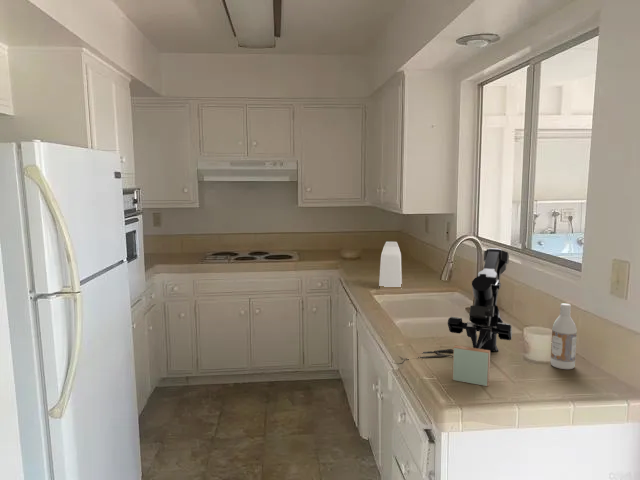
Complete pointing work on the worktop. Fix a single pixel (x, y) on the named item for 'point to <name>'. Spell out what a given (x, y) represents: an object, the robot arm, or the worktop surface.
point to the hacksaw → (435, 355)
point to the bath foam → (564, 339)
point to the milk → (390, 266)
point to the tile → (471, 365)
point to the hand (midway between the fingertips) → (475, 352)
